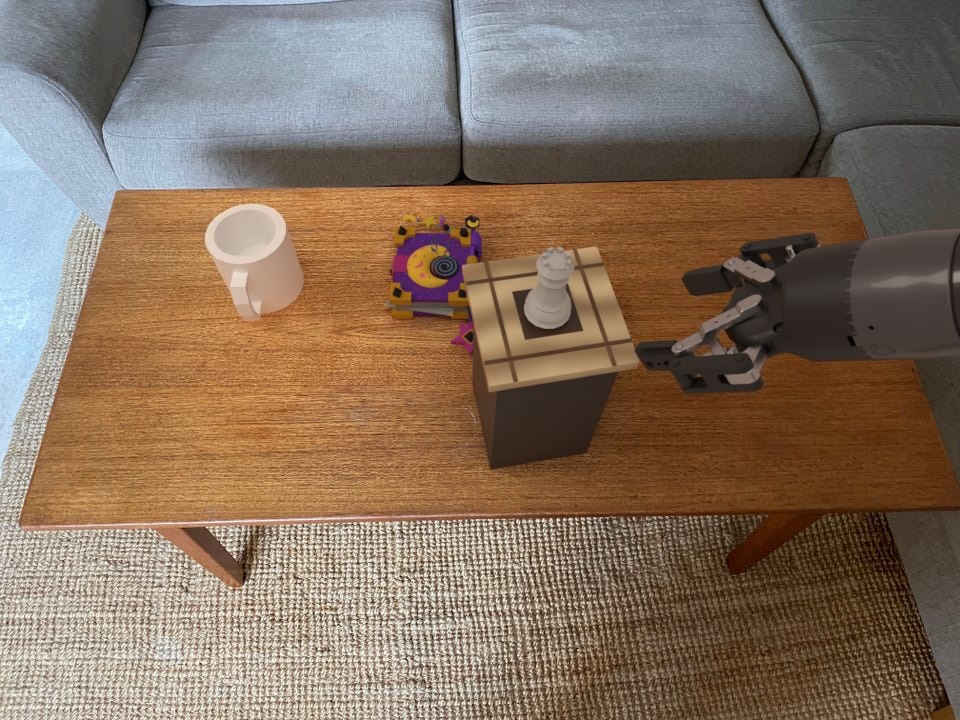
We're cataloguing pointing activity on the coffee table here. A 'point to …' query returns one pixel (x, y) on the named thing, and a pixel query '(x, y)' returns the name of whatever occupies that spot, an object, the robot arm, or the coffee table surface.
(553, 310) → the rook chess piece
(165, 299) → the coffee table surface
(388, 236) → the coffee table surface
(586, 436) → the board stand
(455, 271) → the book
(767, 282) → the robot arm
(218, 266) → the mug
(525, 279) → the game board
